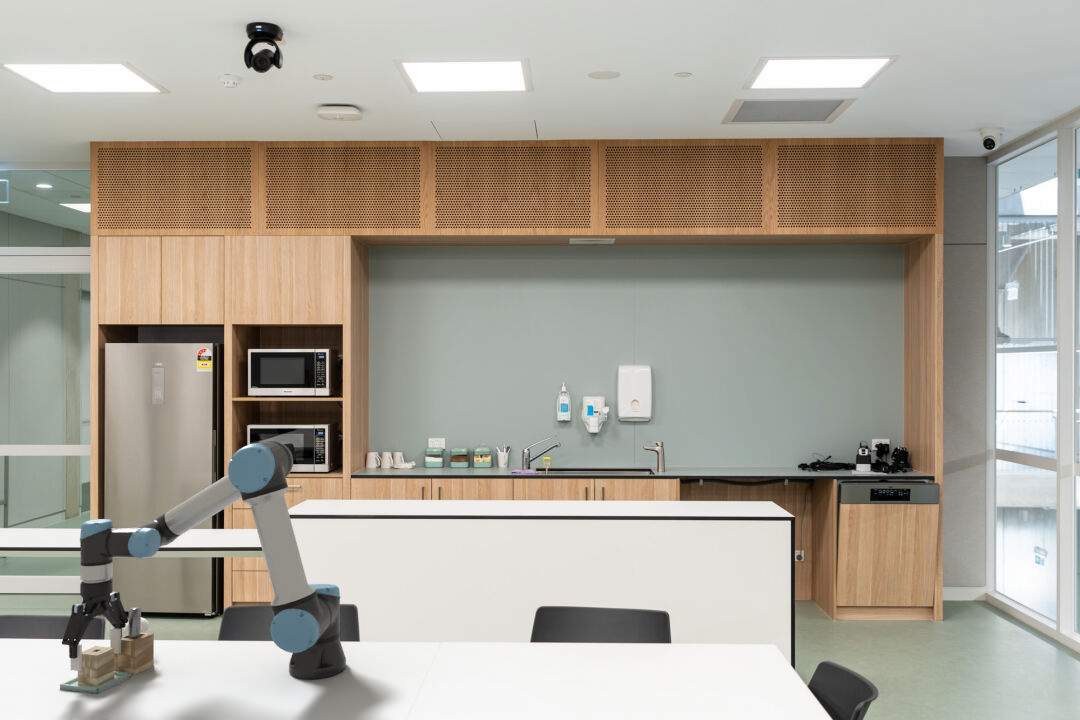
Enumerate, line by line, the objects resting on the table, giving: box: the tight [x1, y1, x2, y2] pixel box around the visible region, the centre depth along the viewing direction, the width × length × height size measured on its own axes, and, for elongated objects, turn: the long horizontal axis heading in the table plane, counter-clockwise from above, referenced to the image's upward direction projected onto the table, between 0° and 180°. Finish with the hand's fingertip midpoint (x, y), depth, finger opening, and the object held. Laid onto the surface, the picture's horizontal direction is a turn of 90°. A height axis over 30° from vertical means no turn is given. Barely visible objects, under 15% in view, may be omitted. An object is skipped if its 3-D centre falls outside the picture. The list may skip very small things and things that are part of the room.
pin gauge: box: [128, 606, 142, 639], centre depth 228 cm, size 3×3×15 cm
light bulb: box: [123, 616, 150, 635], centre depth 238 cm, size 7×7×11 cm
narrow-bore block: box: [77, 645, 114, 687], centre depth 217 cm, size 6×6×8 cm
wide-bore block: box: [114, 632, 155, 675], centre depth 227 cm, size 7×7×9 cm
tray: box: [59, 671, 132, 695], centre depth 217 cm, size 12×12×1 cm
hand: (96, 661), depth 217 cm, fingers open, 13 cm apart
